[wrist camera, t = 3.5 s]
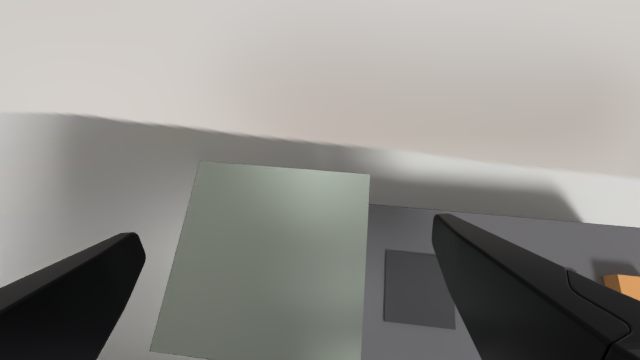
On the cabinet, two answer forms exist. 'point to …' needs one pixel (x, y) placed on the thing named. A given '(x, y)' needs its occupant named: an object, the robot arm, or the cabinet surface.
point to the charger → (268, 266)
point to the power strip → (430, 288)
